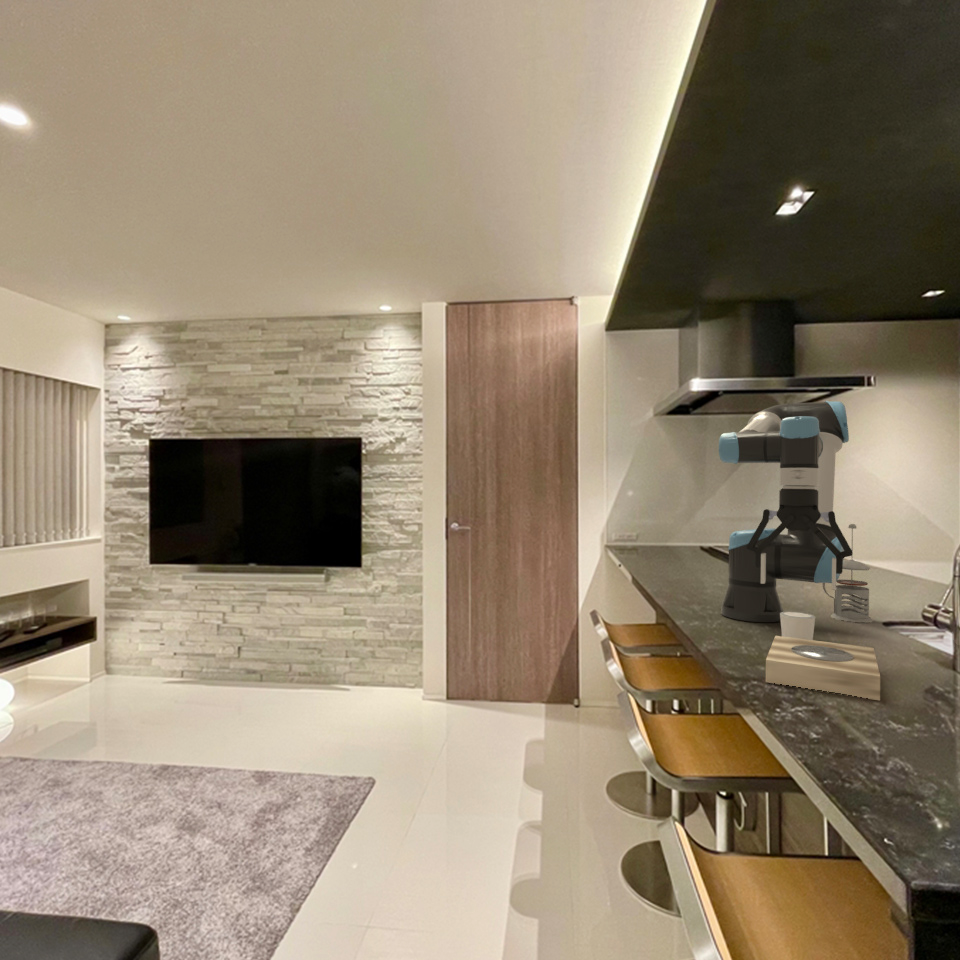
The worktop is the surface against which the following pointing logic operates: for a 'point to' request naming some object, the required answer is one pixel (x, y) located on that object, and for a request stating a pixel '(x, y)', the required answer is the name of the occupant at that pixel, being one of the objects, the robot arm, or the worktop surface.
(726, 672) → the worktop surface
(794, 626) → the tapered cream cylinder
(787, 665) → the birch stand
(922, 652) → the worktop surface
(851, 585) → the french press
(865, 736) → the worktop surface
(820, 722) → the worktop surface
